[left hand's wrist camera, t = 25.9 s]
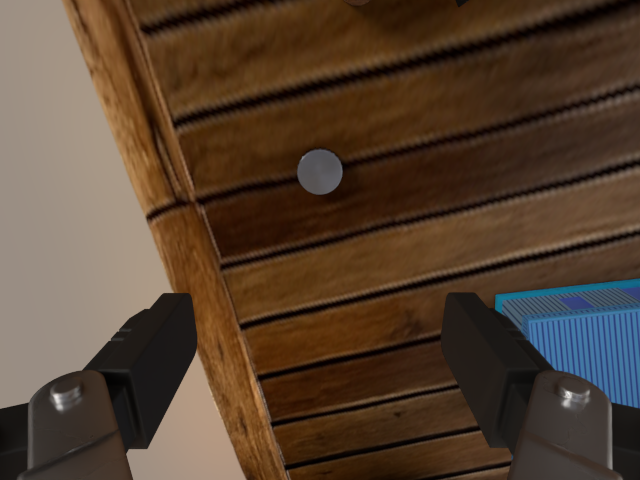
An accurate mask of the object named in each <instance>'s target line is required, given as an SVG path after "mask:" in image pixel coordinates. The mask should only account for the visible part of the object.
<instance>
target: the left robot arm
mask: <svg viewBox="0 0 640 480" xmlns="http://www.w3.org/2000/svg"><path fill="white" fill-rule="evenodd" d="M441 347H442V352H443V355H444V357H445V359H446V361H447V363H448V365H449V367H450V369H451V371H452V373H453V375H454V377H455V379H456V381H457V383H458V385H459V387H460V389H461V391H462V393H463V395H464V397H465V399H466V401H467V403H468V405H469V407H470V409H471V411H472V413H473V415H474V417H475V419H476V421H477V423H478V425H479V427H480V429H481V431H482V433H483V435H484V437H485V439H486V441H487V443H488V445H489V447H490V448H509V450H510V452H511V454H512V455H513V459H512V463H511V467H510V470H509V474H508V477H507V480H640V408H636V407H631V406H627V405H622V404H618V403H613V402H610V400H609V398H608V397H607V395H606V394H605V393H604V392H603V391H602V390H601V389H600V388H598V387H597V386H596V385H594V384H593V383H591V382H589V381H588V380H586V379H584V378H582V377H580V376H577V375H574V374H571V373H568V372H564V371H558V370H555V369H554V368H553V367H552V366H551V364H550V363H549V362H548V361H547V360H546V359H545V358H544V357H543V356H542V355H541V353H540V352H539V351H538V350H537V349H536V348H535V347H534V346H533V345H532V343H531V342H530V341H529V340H526V337H525V336H524V335H523V333H522V332H521V331H518V328H517V327H516V326H515V325H514V324H513V322H512V321H511V320H510V319H509V318H508V317H506V316H505V315H503V314H501V313H500V312H498V311H496V310H495V309H493V308H488V307H487V306H486V305H485V304H484V303H483V302H482V300H481V299H480V298H479V297H478V296H477V295H476V294H475V293H448V295H447V297H446V302H445V310H444V317H443V324H442V331H441ZM196 349H197V331H196V324H195V317H194V310H193V302H192V298H191V295H190V294H189V293H163V294H162V295H161V296H160V297H159V298H158V300H157V301H156V302H155V303H154V304H153V305H152V307H151V308H150V309H144V310H142V311H141V312H139V313H138V314H136V315H134V316H133V317H131V318H129V319H128V320H127V322H126V323H125V324H124V325H123V326H122V327H121V328H120V329H119V332H117V333H116V334H115V335H114V336H113V337H112V338H111V341H108V342H107V344H106V345H105V346H104V347H103V348H102V349H101V350H100V351H99V352H98V353H97V355H96V356H95V357H94V358H93V359H92V360H91V361H90V362H89V363H88V364H87V365H86V367H85V368H84V369H83V370H82V371H76V372H72V373H69V374H66V375H63V376H60V377H58V378H56V379H54V380H52V381H51V382H49V383H47V384H46V385H44V386H43V387H42V388H40V389H39V390H38V391H37V392H36V393H35V394H34V395H33V397H32V398H31V400H30V402H29V403H25V404H20V405H16V406H11V407H7V408H2V409H0V480H133V477H132V474H131V470H130V467H129V463H128V459H127V456H126V453H127V451H128V450H129V449H147V448H148V446H149V444H150V442H151V441H152V439H153V437H154V435H155V433H156V431H157V429H158V427H159V425H160V423H161V421H162V419H163V417H164V415H165V413H166V411H167V409H168V407H169V405H170V403H171V401H172V399H173V397H174V395H175V393H176V391H177V389H178V387H179V386H180V384H181V382H182V380H183V378H184V376H185V374H186V372H187V370H188V368H189V366H190V364H191V362H192V360H193V358H194V356H195V353H196Z"/></svg>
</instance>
